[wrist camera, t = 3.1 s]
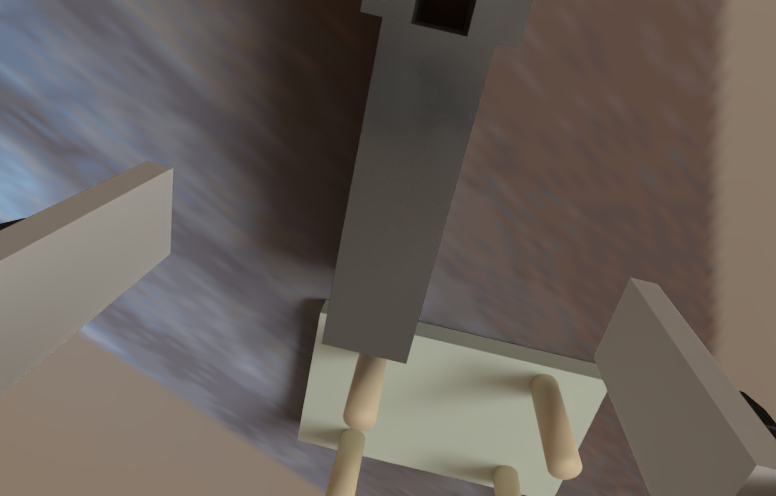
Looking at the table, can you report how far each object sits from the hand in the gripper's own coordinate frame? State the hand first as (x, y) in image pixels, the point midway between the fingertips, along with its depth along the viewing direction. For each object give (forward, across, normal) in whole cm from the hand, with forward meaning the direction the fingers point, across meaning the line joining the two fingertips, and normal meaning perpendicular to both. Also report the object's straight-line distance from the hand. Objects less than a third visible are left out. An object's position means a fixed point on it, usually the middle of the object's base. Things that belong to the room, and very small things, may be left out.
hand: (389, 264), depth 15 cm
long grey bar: (+13, 0, +1) cm, 13 cm away
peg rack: (+13, +5, -15) cm, 21 cm away
